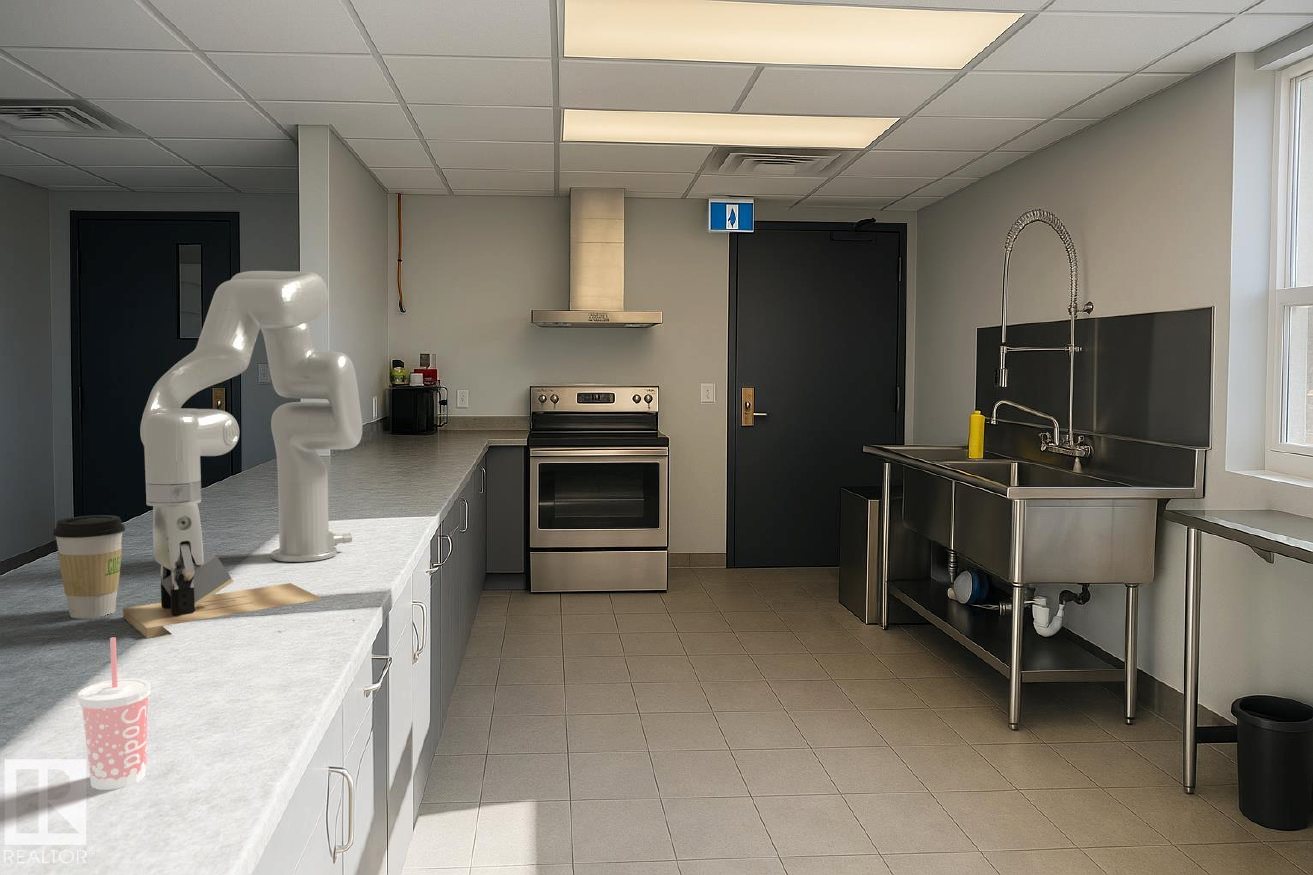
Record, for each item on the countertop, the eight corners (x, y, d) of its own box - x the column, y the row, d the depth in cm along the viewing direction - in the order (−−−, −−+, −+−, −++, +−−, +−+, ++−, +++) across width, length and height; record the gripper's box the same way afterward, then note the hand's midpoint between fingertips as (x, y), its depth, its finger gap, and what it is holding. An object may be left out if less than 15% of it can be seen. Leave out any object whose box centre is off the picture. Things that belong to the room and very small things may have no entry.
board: (290, 591, 164) (290, 582, 163) (323, 607, 153) (322, 598, 153) (123, 617, 146) (123, 608, 146) (147, 638, 136) (146, 627, 136)
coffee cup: (142, 608, 152) (139, 516, 150) (88, 624, 142) (84, 527, 141) (97, 602, 155) (93, 512, 154) (40, 618, 146) (36, 522, 144)
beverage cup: (94, 799, 87) (88, 651, 85) (72, 779, 91) (66, 638, 90) (164, 778, 91) (159, 637, 90) (140, 759, 95) (135, 625, 94)
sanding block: (224, 576, 151) (207, 551, 149) (233, 581, 148) (216, 555, 146) (177, 606, 147) (160, 581, 145) (186, 612, 144) (168, 587, 142)
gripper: (217, 497, 140) (221, 617, 141) (184, 485, 152) (187, 595, 154) (162, 502, 135) (166, 626, 136) (132, 489, 147) (137, 603, 149)
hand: (178, 609), depth 145 cm, fingers closed on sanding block, 4 cm apart
